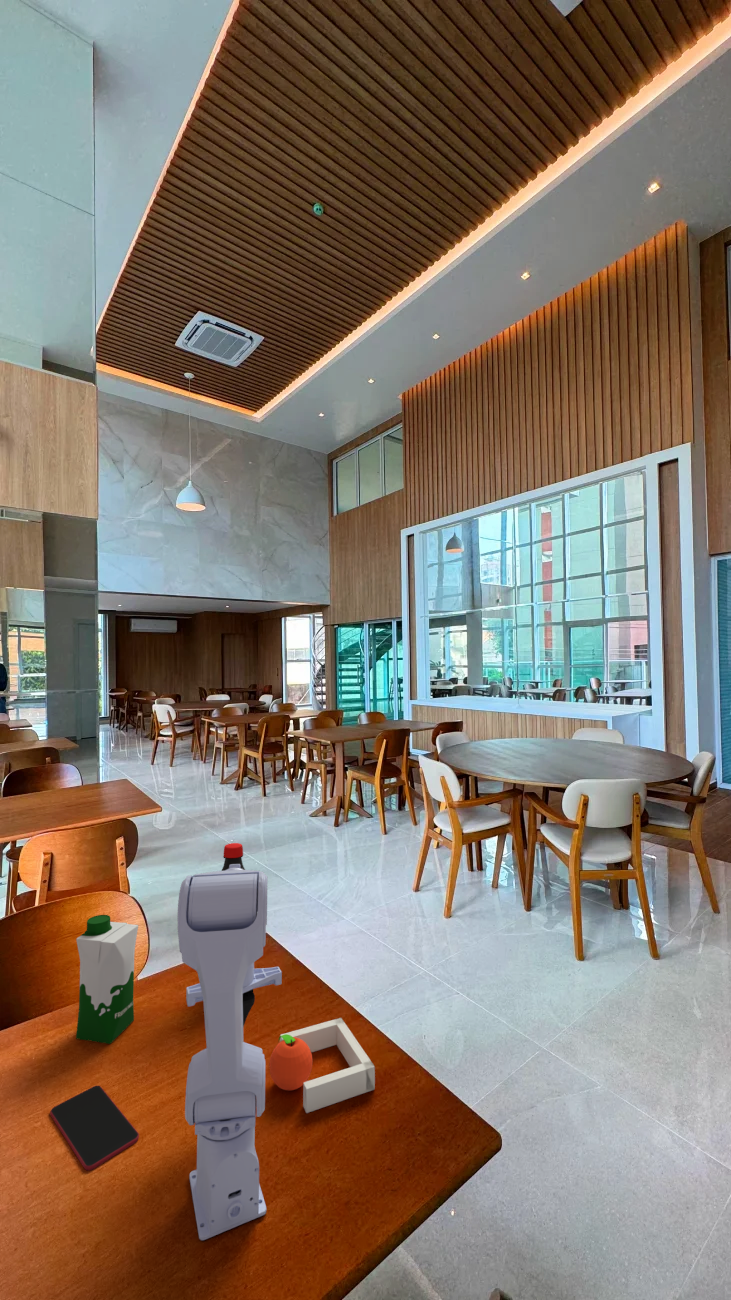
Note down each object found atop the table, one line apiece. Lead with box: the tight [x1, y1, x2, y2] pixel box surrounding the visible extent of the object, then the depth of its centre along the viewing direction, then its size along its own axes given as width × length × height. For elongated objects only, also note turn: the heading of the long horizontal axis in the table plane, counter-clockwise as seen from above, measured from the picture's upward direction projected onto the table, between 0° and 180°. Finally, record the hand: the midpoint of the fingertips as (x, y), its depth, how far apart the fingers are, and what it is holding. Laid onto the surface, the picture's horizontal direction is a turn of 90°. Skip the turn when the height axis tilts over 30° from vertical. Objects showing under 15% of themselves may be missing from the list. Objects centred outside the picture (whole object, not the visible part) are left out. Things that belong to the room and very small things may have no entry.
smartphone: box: [49, 1085, 140, 1172], centre depth 80 cm, size 7×1×15 cm
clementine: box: [269, 1033, 314, 1091], centre depth 89 cm, size 8×7×7 cm
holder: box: [279, 1017, 376, 1114], centre depth 92 cm, size 14×12×4 cm
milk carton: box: [75, 914, 139, 1045], centre depth 103 cm, size 9×9×20 cm
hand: (234, 1040), depth 86 cm, fingers closed
